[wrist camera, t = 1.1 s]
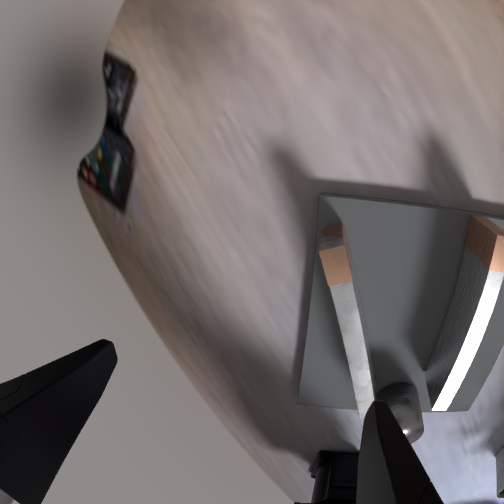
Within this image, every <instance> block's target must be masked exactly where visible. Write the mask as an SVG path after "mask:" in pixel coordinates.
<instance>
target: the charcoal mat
mask: <svg viewBox="0 0 504 504" xmlns="http://www.w3.org/2000/svg"><path fill="white" fill-rule="evenodd" d="M470 215H474V216H480V217H486V218H488V219H489V220H491V221H492V222H493V223H495V224H496V225H498V226H499V227H501V228H502V229H503V230H504V217H499V216H494V215H488V214H482V213H477V212H471V211H465V210H458V209H452V208H445V207H439V206H432V205H425V204H417V203H410V202H402V201H394V200H385V199H377V198H368V197H358V196H348V195H337V194H326V193H320V194H319V206H318V221H317V235H316V248H315V260H314V271H313V281H312V291H311V301H310V310H309V319H308V327H307V336H306V344H305V351H304V359H303V366H302V373H301V380H300V387H299V394H298V400H297V404H305V405H313V406H321V407H330V408H340V409H352V410H358V406H357V401H356V396H355V391H354V387H353V382H352V377H351V373H350V368H349V363H348V359H347V355H346V350H345V346H344V342H343V337H342V333H341V329H340V325H339V321H338V317H337V313H336V309H335V305H334V301H333V297H332V294H331V290H330V286H328V283H327V279H326V275H325V272H324V268H323V265H322V261H321V257H320V254H319V247H320V241H321V235H322V228H323V227H327V226H331V225H335V224H339V223H343V225H344V229H345V233H346V237H347V241H348V245H349V249H350V254H351V260H352V265H353V269H354V273H355V278H356V282H357V286H358V291H359V296H360V300H361V305H362V310H363V315H364V320H365V325H366V330H367V336H368V341H369V347H370V353H371V359H372V365H373V371H374V378H375V385H376V394H377V392H378V391H379V390H381V389H382V388H384V387H385V386H388V385H390V384H394V383H409V384H411V385H413V386H414V387H416V389H417V391H418V395H419V400H420V406H421V412H456V411H468V410H469V408H470V407H471V405H472V404H473V402H474V400H475V399H476V397H477V395H478V393H479V392H480V390H481V388H482V386H483V385H484V383H485V381H486V379H487V377H488V375H489V373H490V372H491V370H492V368H493V366H494V364H495V362H496V360H497V358H498V356H499V353H500V351H501V349H502V347H503V345H504V277H503V281H502V284H501V287H500V290H499V293H498V296H497V299H496V302H495V305H494V308H493V311H492V313H491V316H490V319H489V321H488V324H487V326H486V329H485V331H484V334H483V336H482V339H481V341H480V343H479V346H478V348H477V350H476V353H475V355H474V357H473V359H472V361H471V363H470V366H469V368H468V370H467V372H466V374H465V376H464V378H463V380H462V382H461V384H460V386H459V387H458V389H457V391H456V393H455V395H454V397H453V399H452V400H451V402H450V404H449V406H448V407H447V409H446V410H432V409H431V404H430V399H429V394H428V390H427V385H426V381H425V376H424V373H425V371H426V369H427V366H428V364H429V361H430V359H431V356H432V354H433V351H434V349H435V346H436V343H437V341H438V338H439V335H440V332H441V330H442V327H443V324H444V321H445V318H446V315H447V312H448V309H449V305H450V302H451V299H452V295H453V292H454V289H455V285H456V281H457V278H458V274H459V270H460V266H461V262H462V258H463V253H464V249H465V240H466V235H467V230H468V225H469V219H470Z"/></svg>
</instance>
